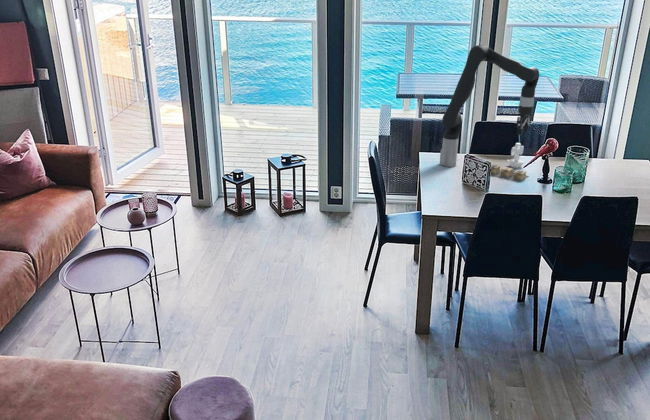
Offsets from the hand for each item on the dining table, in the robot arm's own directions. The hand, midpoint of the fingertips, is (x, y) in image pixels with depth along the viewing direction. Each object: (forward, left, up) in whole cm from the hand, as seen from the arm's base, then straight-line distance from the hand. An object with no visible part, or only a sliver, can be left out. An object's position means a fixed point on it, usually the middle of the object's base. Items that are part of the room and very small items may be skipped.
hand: (522, 133), depth 341 cm
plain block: (-8, +4, -27) cm, 29 cm away
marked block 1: (-16, +4, -27) cm, 32 cm away
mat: (-8, +4, -28) cm, 29 cm away
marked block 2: (0, +4, -27) cm, 28 cm away
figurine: (-11, +23, -28) cm, 37 cm away
